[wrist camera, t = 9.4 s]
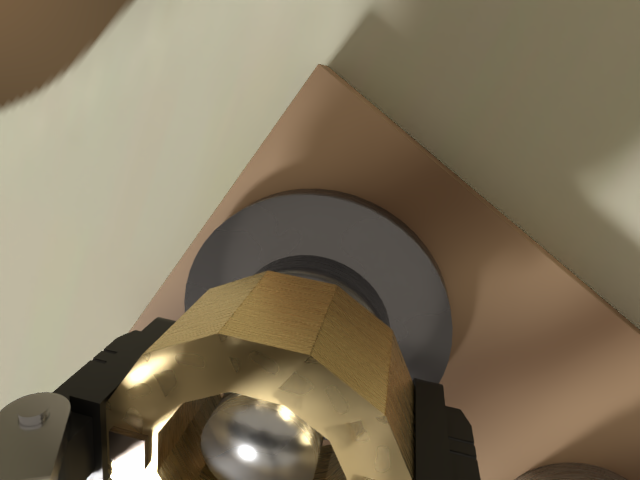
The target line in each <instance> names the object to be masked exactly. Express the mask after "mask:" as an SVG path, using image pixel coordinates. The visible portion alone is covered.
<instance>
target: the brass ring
mask: <svg viewBox="0 0 640 480" xmlns="http://www.w3.org/2000/svg"><path fill="white" fill-rule="evenodd" d="M227 392H233V393H237V394H241V395H244V396H248V397H252V398H256V399H260V400H264V401H268V402H272V403H276V404H280V405H284V406H286V407H287V408H288V409H290V410H291V411H292V412H293V413H295V414H296V415H297V416H298V417H300V418H301V419H302V420H304V421H305V422H306V423H307V424H309V425H310V426H311V427H312V428H314V429H315V430H316V431H317V432H319V433H320V434H321V435H323V436H324V437H325V438H326V439H328V440H329V441H330V443H331V444H330V445H324V446H322V447H321V451H320V455H319V459H318V463H317V466H316V470H315V474H314V478H313V480H415V408H414V384H413V381H412V379H411V376H410V374H409V371H408V368H407V366H406V363H405V361H404V358H403V355H402V353H401V350H400V348H399V345H398V343H397V340H396V337H395V335H394V332H393V330H392V329H391V328H390V327H388V326H387V325H386V324H385V323H383V322H382V321H381V320H380V319H378V318H377V317H376V316H375V315H374V314H372V313H371V312H370V311H369V310H367V309H366V308H365V307H364V306H362V305H361V304H360V303H359V302H358V301H356V300H355V299H354V298H353V297H351V296H350V295H349V294H348V293H346V292H345V291H344V290H343V289H342V288H340V287H339V286H338V285H335V284H330V283H325V282H320V281H316V280H311V279H306V278H302V277H297V276H292V275H287V274H283V273H278V272H273V271H269V270H268V271H265V272H262V273H258V274H255V275H252V276H249V277H246V278H243V279H239V280H236V281H233V282H230V283H227V284H224V285H220V286H217V287H214V288H211V289H209V290H208V291H207V292H206V293H205V294H204V295H202V296H201V297H200V298H199V299H198V300H197V301H196V302H195V303H194V304H193V305H192V306H191V307H190V308H189V309H188V310H187V311H186V312H185V313H184V314H183V315H182V316H181V317H180V318H179V319H178V320H177V321H176V322H175V323H174V324H173V325H172V326H171V327H170V328H169V329H168V330H167V331H166V332H165V333H164V334H163V335H162V336H161V337H160V338H159V339H158V340H157V341H156V342H155V343H154V344H153V345H151V346H150V347H149V348H148V349H147V350H146V351H145V352H144V353H143V354H142V355H141V357H140V358H139V360H138V361H137V362H136V364H135V365H134V366H133V368H132V369H131V370H130V372H129V373H128V374H127V376H126V377H125V378H124V380H123V381H122V382H121V384H120V385H119V386H118V388H117V389H116V390H115V392H114V393H113V394H112V396H111V397H110V398H109V400H108V401H107V402H106V428H107V457H108V473H109V474H110V476H111V478H112V479H113V480H218V479H217V478H216V477H215V476H214V475H213V473H212V472H211V471H210V469H209V468H208V466H207V464H206V462H205V460H204V458H203V454H202V450H201V435H202V431H203V428H204V426H205V425H206V423H207V421H208V420H209V418H210V416H211V415H212V413H213V411H214V410H215V408H216V407H217V405H218V403H219V402H220V400H221V399H222V398H221V396H220V394H223V393H227Z"/></svg>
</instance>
